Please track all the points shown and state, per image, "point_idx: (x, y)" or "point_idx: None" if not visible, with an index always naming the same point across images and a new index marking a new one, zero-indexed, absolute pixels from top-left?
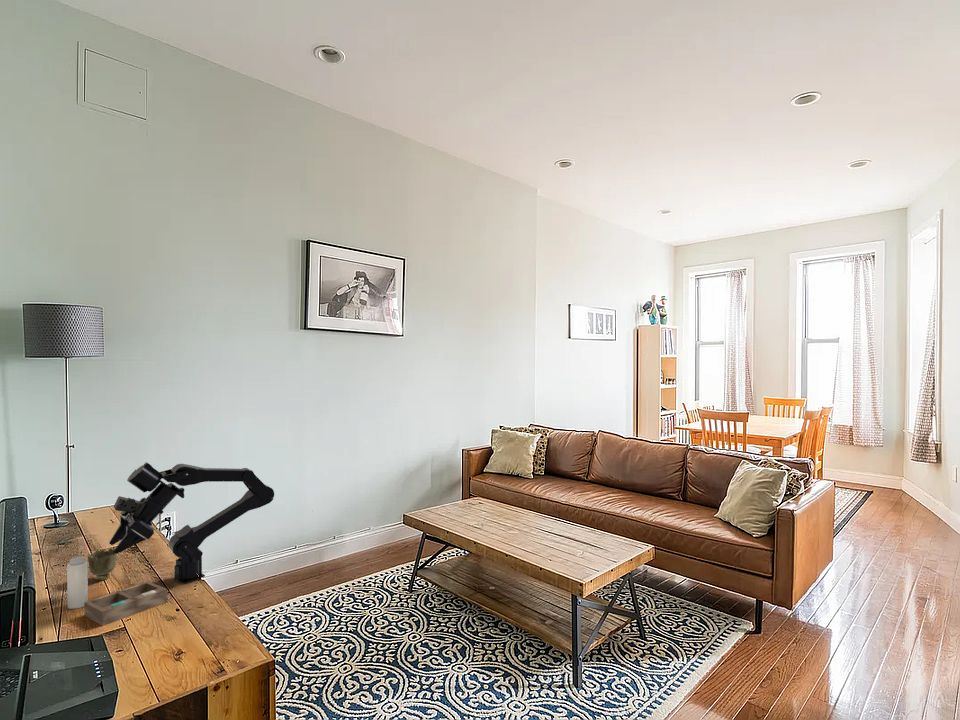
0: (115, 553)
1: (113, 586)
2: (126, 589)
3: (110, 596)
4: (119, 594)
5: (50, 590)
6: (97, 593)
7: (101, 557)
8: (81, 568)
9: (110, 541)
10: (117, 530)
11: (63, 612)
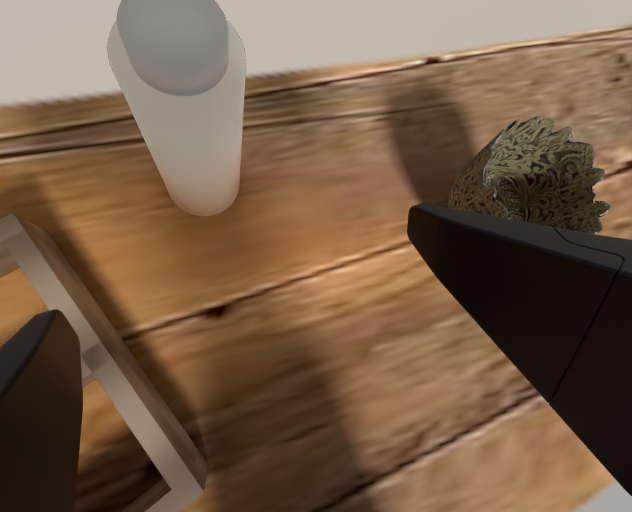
0: None
1: (366, 278)
2: (115, 392)
3: None
4: None
5: (402, 73)
6: (308, 232)
7: (559, 182)
8: (130, 100)
9: (420, 211)
10: (539, 246)
11: (144, 146)
